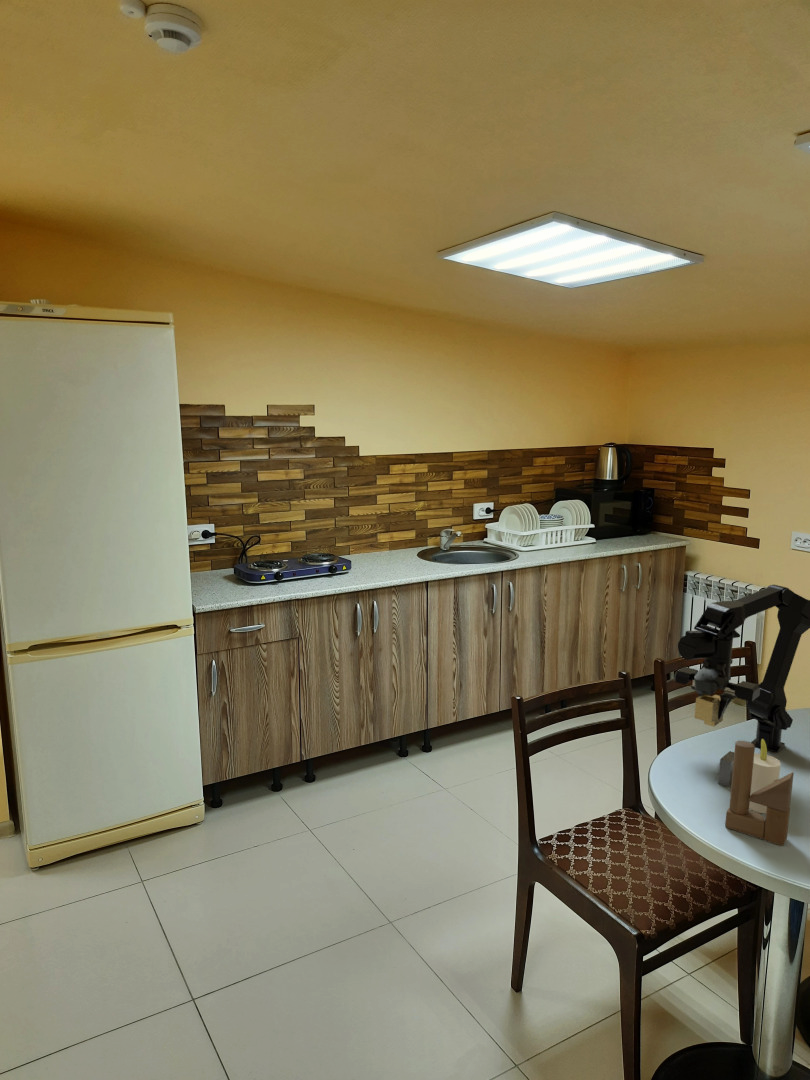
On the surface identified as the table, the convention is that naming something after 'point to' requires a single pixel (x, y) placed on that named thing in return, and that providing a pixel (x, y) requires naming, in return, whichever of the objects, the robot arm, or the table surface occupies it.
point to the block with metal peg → (726, 769)
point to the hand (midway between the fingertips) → (713, 716)
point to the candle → (763, 774)
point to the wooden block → (758, 800)
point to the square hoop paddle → (708, 709)
